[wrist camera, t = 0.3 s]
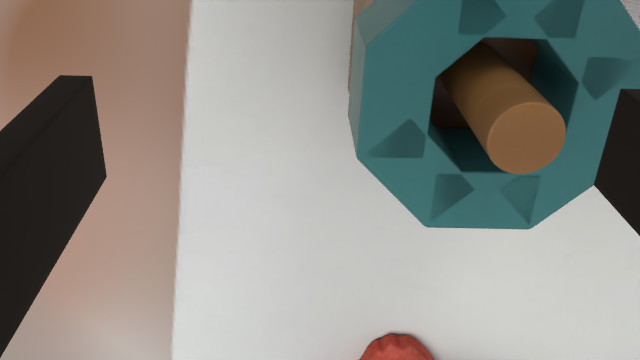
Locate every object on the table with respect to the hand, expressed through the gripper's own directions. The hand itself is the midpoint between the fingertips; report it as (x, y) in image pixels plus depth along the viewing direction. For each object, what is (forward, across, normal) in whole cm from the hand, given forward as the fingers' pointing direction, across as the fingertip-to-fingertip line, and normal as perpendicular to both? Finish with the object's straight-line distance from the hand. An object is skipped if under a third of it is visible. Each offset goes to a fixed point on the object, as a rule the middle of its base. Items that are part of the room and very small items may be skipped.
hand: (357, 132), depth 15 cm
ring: (+9, +5, -1) cm, 10 cm away
